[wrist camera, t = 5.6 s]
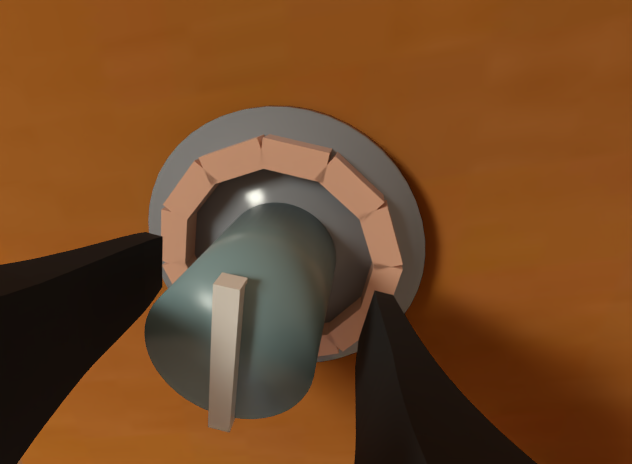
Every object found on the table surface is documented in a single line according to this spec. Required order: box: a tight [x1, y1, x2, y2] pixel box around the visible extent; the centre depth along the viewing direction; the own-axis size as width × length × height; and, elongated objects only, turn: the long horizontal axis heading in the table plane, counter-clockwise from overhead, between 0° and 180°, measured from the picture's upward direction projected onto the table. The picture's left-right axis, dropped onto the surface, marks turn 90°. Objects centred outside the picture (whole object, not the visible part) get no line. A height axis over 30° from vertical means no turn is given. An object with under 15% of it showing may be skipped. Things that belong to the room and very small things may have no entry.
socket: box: [148, 106, 425, 362], centre depth 14 cm, size 11×11×2 cm
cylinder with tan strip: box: [145, 202, 336, 432], centre depth 11 cm, size 5×4×6 cm
